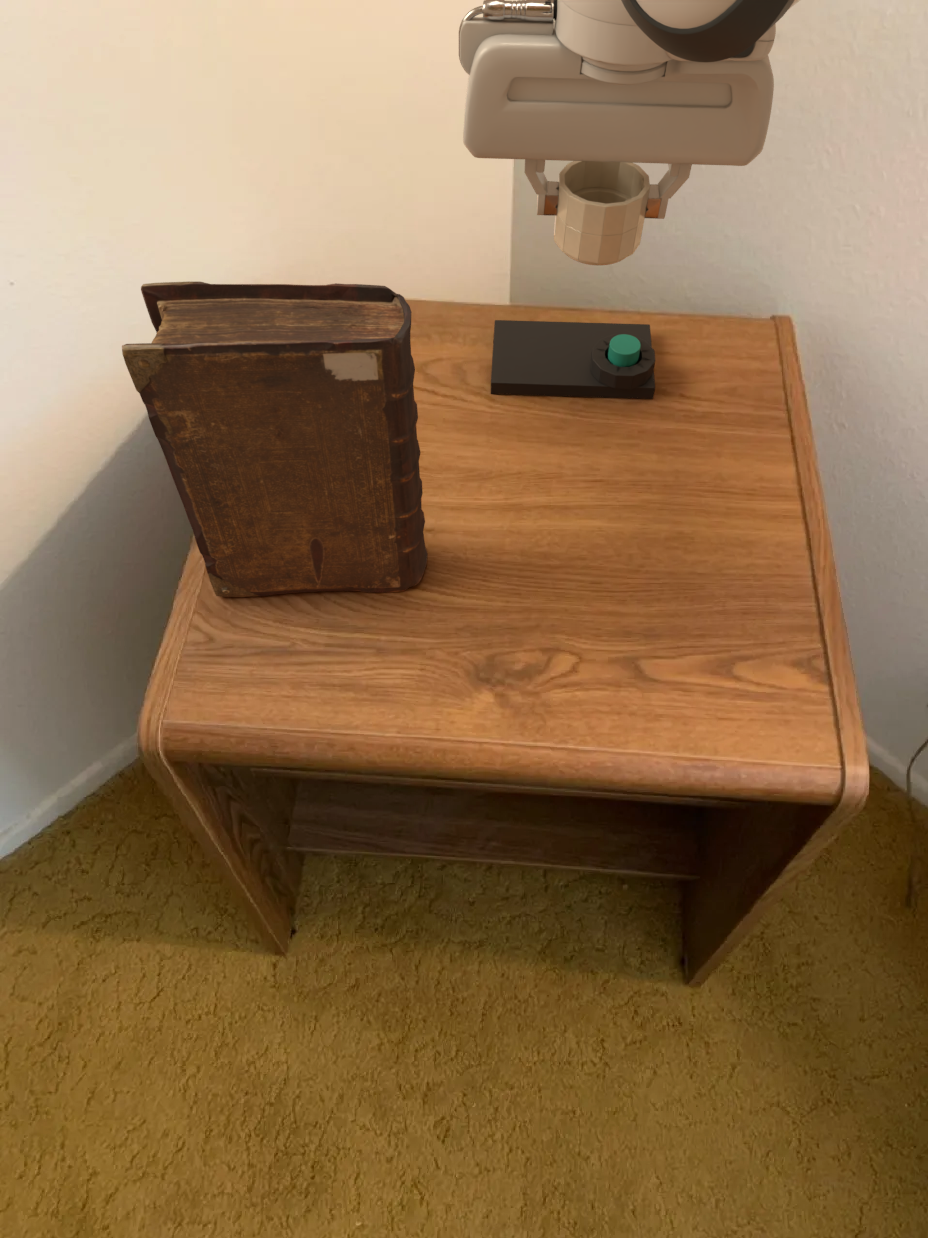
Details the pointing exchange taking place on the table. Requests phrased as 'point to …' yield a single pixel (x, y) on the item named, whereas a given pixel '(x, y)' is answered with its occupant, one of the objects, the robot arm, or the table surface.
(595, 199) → the beige cup
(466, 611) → the table surface
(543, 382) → the scale
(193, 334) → the book
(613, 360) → the button
